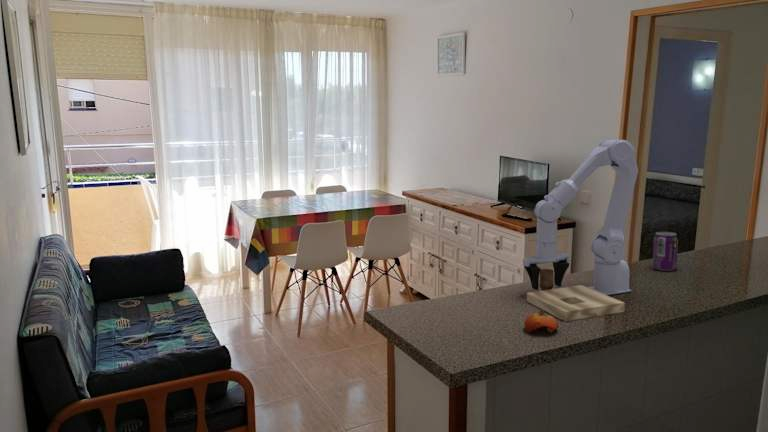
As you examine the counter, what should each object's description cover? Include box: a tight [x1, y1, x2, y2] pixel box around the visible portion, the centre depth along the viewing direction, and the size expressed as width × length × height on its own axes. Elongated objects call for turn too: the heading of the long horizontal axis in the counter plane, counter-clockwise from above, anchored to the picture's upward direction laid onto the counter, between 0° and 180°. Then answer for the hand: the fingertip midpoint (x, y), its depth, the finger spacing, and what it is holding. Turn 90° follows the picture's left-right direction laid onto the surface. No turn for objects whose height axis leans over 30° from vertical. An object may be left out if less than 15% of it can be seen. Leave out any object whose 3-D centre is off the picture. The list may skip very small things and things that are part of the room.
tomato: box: [523, 309, 559, 335], centre depth 139 cm, size 8×7×7 cm
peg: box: [539, 268, 555, 291], centre depth 168 cm, size 4×4×7 cm
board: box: [526, 284, 626, 322], centre depth 156 cm, size 18×18×2 cm
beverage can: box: [652, 231, 679, 272], centre depth 188 cm, size 7×7×12 cm
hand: (546, 287), depth 168 cm, fingers open, 7 cm apart
